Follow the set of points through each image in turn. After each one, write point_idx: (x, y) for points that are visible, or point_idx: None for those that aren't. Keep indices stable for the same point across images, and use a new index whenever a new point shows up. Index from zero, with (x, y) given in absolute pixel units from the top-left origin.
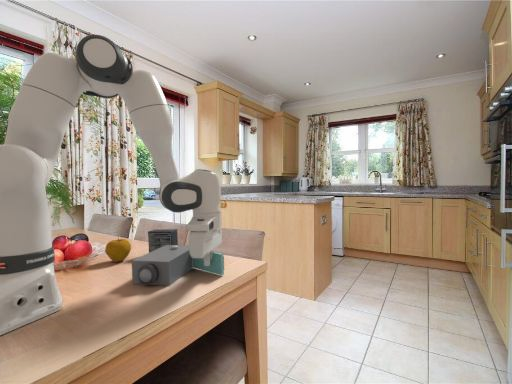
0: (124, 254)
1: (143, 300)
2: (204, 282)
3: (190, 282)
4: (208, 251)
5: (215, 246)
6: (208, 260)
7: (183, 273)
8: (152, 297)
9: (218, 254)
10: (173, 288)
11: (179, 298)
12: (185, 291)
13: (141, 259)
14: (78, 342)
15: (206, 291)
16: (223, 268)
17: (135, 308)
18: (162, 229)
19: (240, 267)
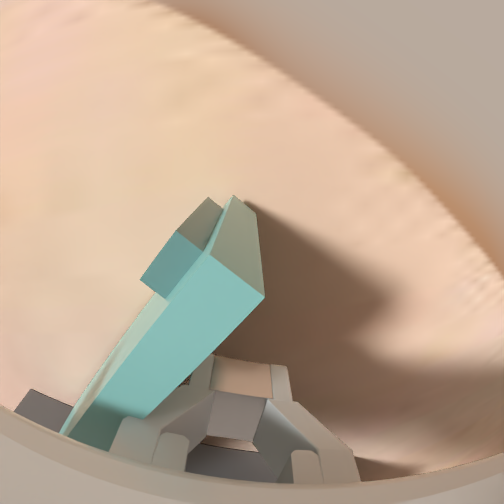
0: None
1: (450, 458)
2: (361, 323)
3: (337, 397)
4: (485, 479)
5: (98, 475)
6: (287, 408)
7: (204, 451)
8: (442, 451)
9: (218, 341)
10: (392, 434)
11: (495, 373)
12: (447, 379)
13: None
14: None
15: (485, 283)
16: (231, 205)
17: (486, 445)
18: None
19: (49, 82)
